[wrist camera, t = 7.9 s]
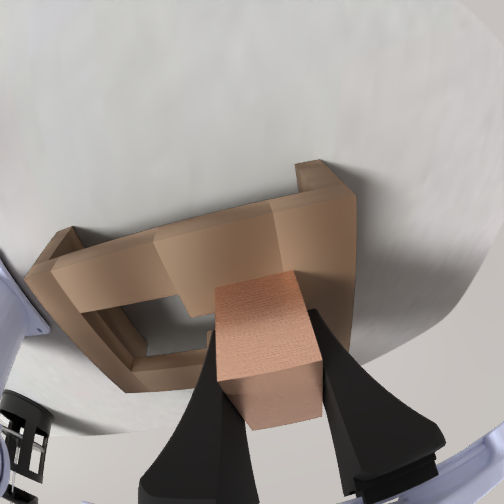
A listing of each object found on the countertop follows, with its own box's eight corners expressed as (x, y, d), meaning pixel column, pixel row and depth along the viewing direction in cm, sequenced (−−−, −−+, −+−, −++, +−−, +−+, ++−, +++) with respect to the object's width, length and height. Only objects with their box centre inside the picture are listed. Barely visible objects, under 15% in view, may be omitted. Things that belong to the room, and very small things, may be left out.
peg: (230, 313, 16) (240, 432, 10) (204, 243, 13) (200, 383, 7) (299, 298, 16) (333, 413, 10) (288, 224, 13) (339, 355, 7)
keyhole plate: (133, 345, 19) (125, 393, 15) (57, 232, 13) (23, 279, 9) (329, 307, 18) (348, 356, 15) (319, 159, 12) (356, 195, 9)
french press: (11, 385, 23) (-12, 529, 5) (65, 417, 28) (54, 552, 10) (-5, 394, 26) (-25, 508, 7) (39, 421, 31) (26, 530, 12)
